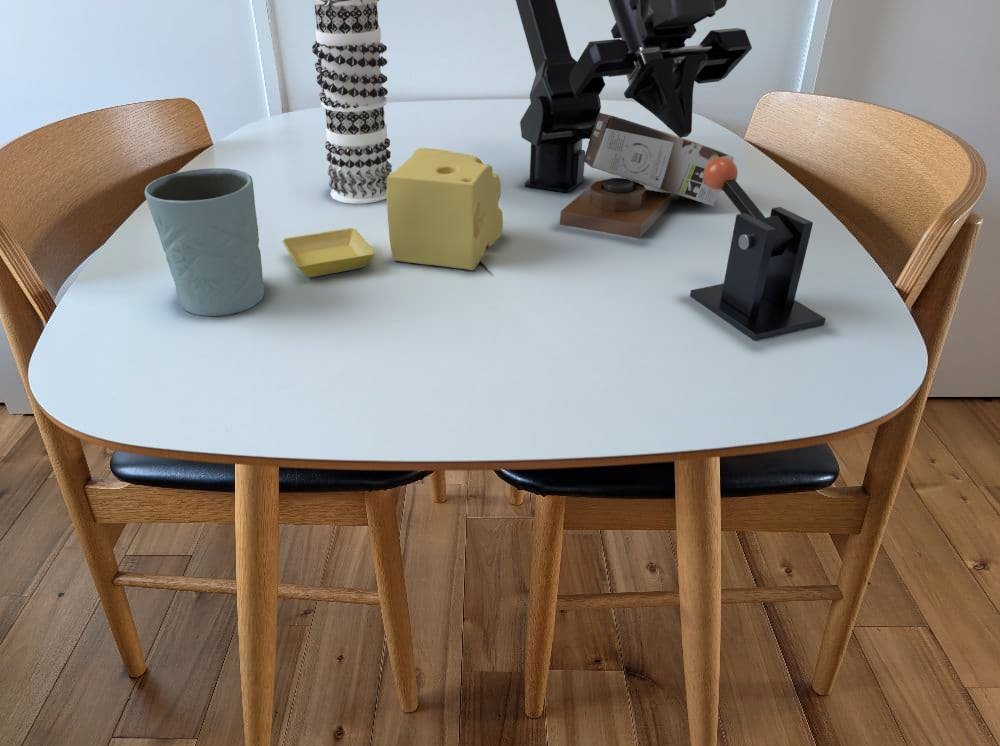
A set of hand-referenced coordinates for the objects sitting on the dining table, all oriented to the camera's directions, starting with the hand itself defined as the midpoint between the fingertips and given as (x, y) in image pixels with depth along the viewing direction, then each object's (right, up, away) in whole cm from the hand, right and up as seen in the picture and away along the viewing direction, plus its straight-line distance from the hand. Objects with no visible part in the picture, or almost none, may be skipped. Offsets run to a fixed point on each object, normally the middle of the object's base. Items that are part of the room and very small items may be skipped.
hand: (686, 135), depth 82 cm
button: (-4, -2, +16) cm, 17 cm away
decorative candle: (-37, +1, +27) cm, 46 cm away
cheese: (-25, -10, +11) cm, 29 cm away
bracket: (+6, -19, -4) cm, 20 cm away
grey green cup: (-48, -17, +1) cm, 51 cm away
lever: (+4, -9, -5) cm, 11 cm away
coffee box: (+9, +1, +19) cm, 22 cm away
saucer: (-38, -12, +8) cm, 40 cm away
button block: (-4, -4, +18) cm, 19 cm away
